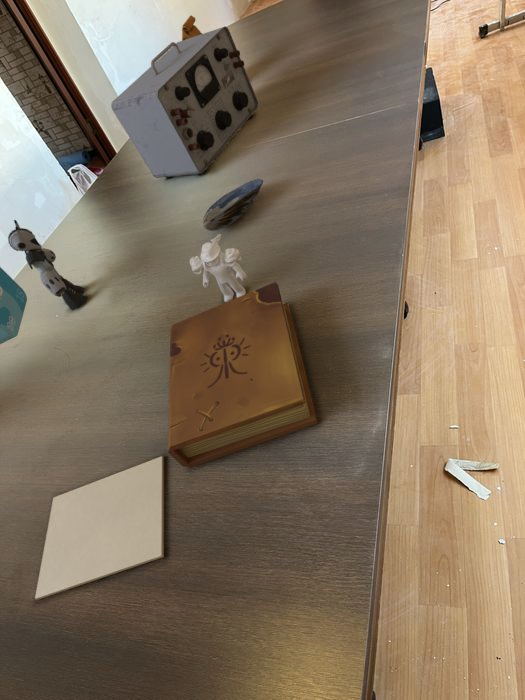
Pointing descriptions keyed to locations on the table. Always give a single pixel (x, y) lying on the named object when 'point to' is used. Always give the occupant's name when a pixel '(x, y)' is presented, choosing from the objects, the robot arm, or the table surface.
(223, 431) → the diary
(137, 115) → the vintage electronic device
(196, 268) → the hat wearing toy figure
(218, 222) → the seashell
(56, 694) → the table surface
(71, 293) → the robot
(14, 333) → the data package
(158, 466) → the mat
